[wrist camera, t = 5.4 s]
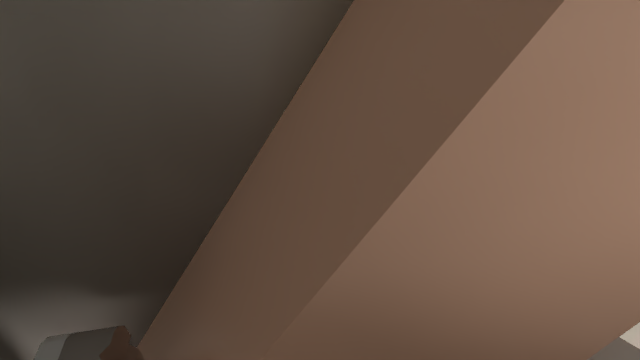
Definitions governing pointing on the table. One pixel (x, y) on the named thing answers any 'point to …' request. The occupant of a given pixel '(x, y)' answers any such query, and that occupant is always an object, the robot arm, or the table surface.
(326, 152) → the salmon orange rectangular block
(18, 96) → the table surface
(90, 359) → the robot arm
